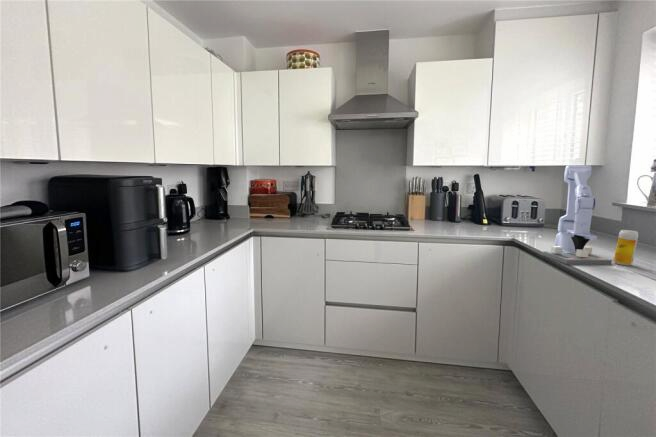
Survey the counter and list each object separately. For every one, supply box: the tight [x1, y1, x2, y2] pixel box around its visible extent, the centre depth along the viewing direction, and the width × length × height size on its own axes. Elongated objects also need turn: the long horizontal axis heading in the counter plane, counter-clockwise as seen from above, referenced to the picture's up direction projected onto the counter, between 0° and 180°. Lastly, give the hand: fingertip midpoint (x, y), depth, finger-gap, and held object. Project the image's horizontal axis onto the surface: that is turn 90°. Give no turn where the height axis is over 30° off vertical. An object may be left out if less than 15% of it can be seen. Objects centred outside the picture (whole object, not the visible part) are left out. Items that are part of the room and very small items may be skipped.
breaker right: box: [583, 245, 593, 254], centre depth 146 cm, size 2×4×3 cm, turn 90°
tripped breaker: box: [576, 249, 589, 257], centre depth 140 cm, size 2×4×3 cm, turn 90°
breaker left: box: [550, 245, 563, 254], centre depth 146 cm, size 2×4×3 cm, turn 90°
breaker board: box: [542, 250, 613, 266], centre depth 143 cm, size 15×20×2 cm
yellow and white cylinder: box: [613, 229, 639, 266], centre depth 136 cm, size 6×6×15 cm
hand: (578, 252), depth 142 cm, fingers closed
